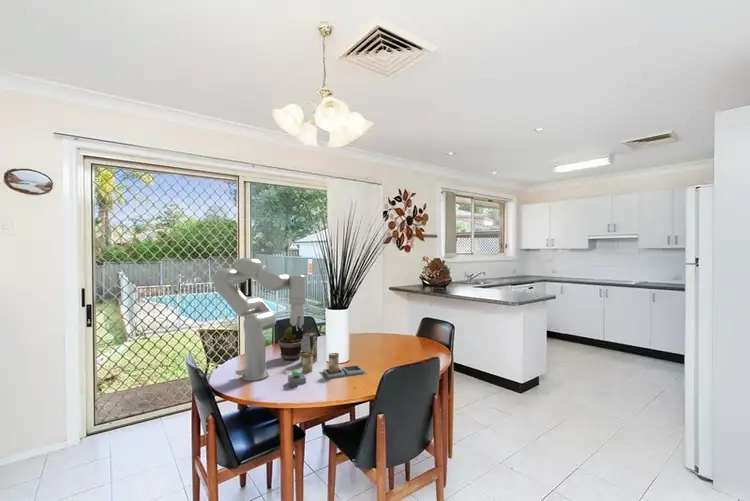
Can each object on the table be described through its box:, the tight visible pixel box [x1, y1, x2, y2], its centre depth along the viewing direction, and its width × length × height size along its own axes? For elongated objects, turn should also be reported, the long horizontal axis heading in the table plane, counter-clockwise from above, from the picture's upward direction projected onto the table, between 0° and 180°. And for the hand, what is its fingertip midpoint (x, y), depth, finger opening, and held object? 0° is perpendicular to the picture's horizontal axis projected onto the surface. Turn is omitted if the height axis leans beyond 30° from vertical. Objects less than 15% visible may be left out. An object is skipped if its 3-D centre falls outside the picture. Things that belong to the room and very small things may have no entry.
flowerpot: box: [277, 326, 301, 362], centre depth 212 cm, size 14×15×20 cm
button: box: [291, 369, 303, 378], centre depth 171 cm, size 4×4×4 cm
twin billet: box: [328, 352, 340, 374], centre depth 181 cm, size 5×5×10 cm
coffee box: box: [300, 332, 318, 366], centre depth 204 cm, size 9×6×16 cm
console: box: [287, 372, 307, 389], centre depth 171 cm, size 7×7×4 cm
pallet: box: [318, 364, 368, 381], centre depth 183 cm, size 22×12×3 cm, turn 113°
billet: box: [301, 353, 313, 374], centre depth 186 cm, size 5×5×10 cm
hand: (297, 336), depth 171 cm, fingers open, 9 cm apart
